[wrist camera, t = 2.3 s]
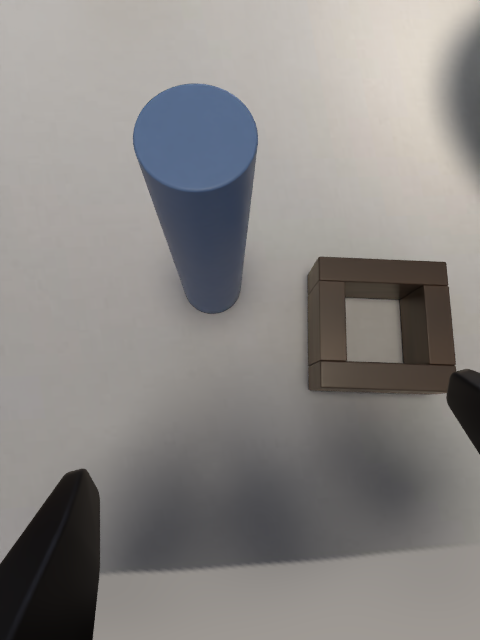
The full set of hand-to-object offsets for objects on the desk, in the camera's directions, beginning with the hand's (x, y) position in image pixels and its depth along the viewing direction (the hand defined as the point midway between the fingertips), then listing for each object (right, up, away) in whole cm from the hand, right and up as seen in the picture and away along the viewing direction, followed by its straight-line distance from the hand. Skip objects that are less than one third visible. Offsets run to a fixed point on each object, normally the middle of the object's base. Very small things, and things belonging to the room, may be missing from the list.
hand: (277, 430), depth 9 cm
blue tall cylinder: (-3, +5, +14) cm, 15 cm away
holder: (+7, +2, +14) cm, 16 cm away
